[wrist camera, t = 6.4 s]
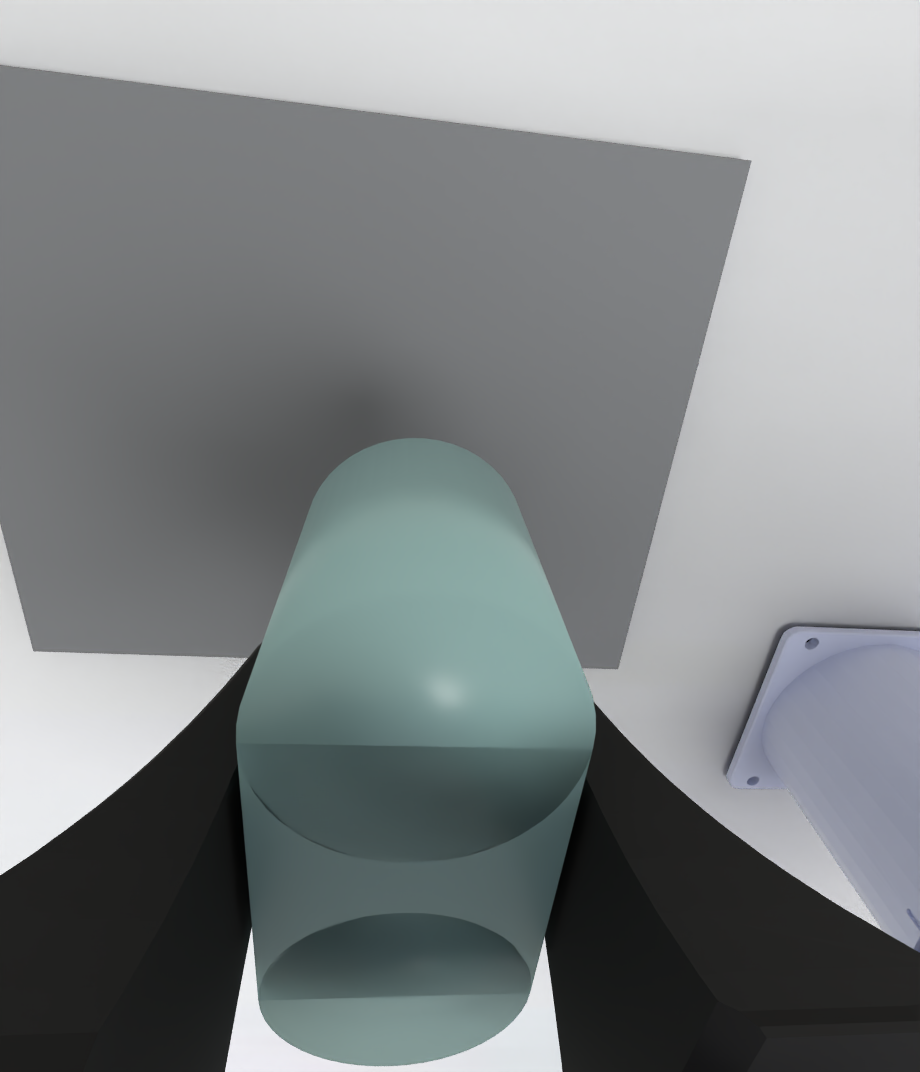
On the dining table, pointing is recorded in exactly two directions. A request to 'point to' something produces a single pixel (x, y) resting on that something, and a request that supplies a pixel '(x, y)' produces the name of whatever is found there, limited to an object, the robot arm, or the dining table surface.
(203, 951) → the robot arm
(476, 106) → the dining table surface
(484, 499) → the teal plug
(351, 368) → the charcoal mat
